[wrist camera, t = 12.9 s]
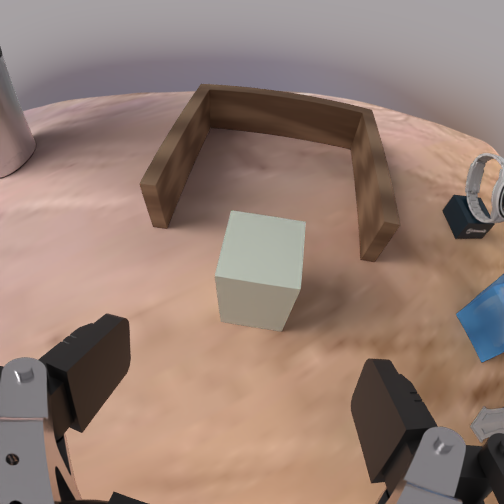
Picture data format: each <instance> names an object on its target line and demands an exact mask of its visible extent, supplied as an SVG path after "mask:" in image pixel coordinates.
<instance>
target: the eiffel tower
mask: <svg viewBox="0 0 504 504" xmlns="http://www.w3.org/2000/svg"><path fill="white" fill-rule="evenodd" d="M470 427H471V429H472V430H473V432H474V434H475V435H476V437H477V438H478V440H479V441H480V442H482V441H483V440H484V439H485V438H488V437H490V436H491V435H493V434H496V433H504V408H499V409H486V407H485V406H484V407H483V408H482V409H481V411H480V412H479V414H478V415H477V417H476V418H475V419H474V421H473V422H472V424H471V425H470Z"/></svg>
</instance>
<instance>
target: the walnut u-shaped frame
mask: <svg viewBox="0 0 504 504" xmlns="http://www.w3.org/2000/svg"><path fill="white" fill-rule="evenodd" d="M211 127H212V128H223V129H232V130H241V131H249V132H257V133H265V134H272V135H278V136H285V137H291V138H297V139H303V140H308V141H314V142H319V143H324V144H329V145H334V146H339V147H344V148H348V149H351V156H352V163H353V172H354V180H355V190H356V200H357V211H358V224H359V239H360V258H361V260H366V261H371V262H375V261H376V259H377V258H378V256H379V255H380V253H381V252H382V251H383V249H384V248H385V246H386V245H387V243H388V242H389V241H390V239H391V238H392V236H393V235H394V233H395V232H396V230H397V229H398V227H399V226H400V222H399V216H398V211H397V206H396V201H395V196H394V191H393V186H392V182H391V177H390V173H389V169H388V165H387V161H386V157H385V153H384V149H383V146H382V142H381V138H380V135H379V131H378V128H377V125H376V121H375V118H374V115H373V112H372V110H370V109H366V108H362V107H358V106H354V105H350V104H346V103H341V102H337V101H332V100H327V99H322V98H317V97H312V96H306V95H300V94H294V93H288V92H281V91H274V90H266V89H258V88H249V87H238V86H226V85H210V84H201V85H200V86H199V88H198V89H197V91H196V92H195V93H194V95H193V96H192V98H191V99H190V101H189V102H188V104H187V105H186V107H185V108H184V110H183V111H182V113H181V114H180V116H179V117H178V119H177V121H176V122H175V124H174V125H173V127H172V129H171V130H170V132H169V133H168V135H167V137H166V138H165V140H164V142H163V143H162V145H161V147H160V148H159V150H158V152H157V153H156V155H155V157H154V159H153V160H152V162H151V164H150V166H149V167H148V169H147V171H146V173H145V175H144V176H143V178H142V180H141V182H140V187H141V190H142V194H143V197H144V200H145V203H146V206H147V209H148V213H149V216H150V219H151V222H152V225H153V227H159V228H165V229H167V228H168V225H169V222H170V220H171V217H172V215H173V212H174V210H175V207H176V205H177V202H178V200H179V198H180V195H181V193H182V190H183V188H184V186H185V183H186V181H187V179H188V176H189V174H190V172H191V169H192V167H193V165H194V162H195V160H196V158H197V156H198V154H199V151H200V149H201V147H202V145H203V143H204V140H205V138H206V136H207V134H208V132H209V130H210V128H211Z"/></svg>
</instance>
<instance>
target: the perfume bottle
mask: <svg viewBox="0 0 504 504" xmlns="http://www.w3.org/2000/svg"><path fill="white" fill-rule="evenodd" d="M456 315H457V317H458V319H459V321H460V322H461V324H462V326H463V328H464V330H465V331H466V333H467V335H468V337H469V339H470V341H471V343H472V345H473V346H474V348H475V350H476V352H477V354H478V356H479V358H480V360H481V362H484V361H486V360H488V359H491V358H493V357H495V356H497V355H499V354H501V353H503V352H504V274H503V275H502V276H501V277H499V278H498V279H497V280H496V281H495V282H493V283H492V284H491V285H490V286H488V287H487V288H486V289H485V290H483V291H482V292H481V293H480V294H479V295H478V296H477V297H476V298H474V299H473V300H472V301H471V302H470V303H469V304H468V305H466V306H465V307H464V308H463V309H462V310H460V311H459V312H458V313H457V314H456Z"/></svg>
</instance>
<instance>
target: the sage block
mask: <svg viewBox="0 0 504 504" xmlns="http://www.w3.org/2000/svg"><path fill="white" fill-rule="evenodd" d="M305 224H306V222H304V221H297V220H291V219H285V218H279V217H273V216H266V215H260V214H253V213H246V212H240V211H233V210H231V213H230V217H229V221H228V225H227V229H226V233H225V237H224V241H223V245H222V249H221V253H220V257H219V261H218V265H217V269H216V273H215V282H216V290H217V298H218V305H219V313H220V320H221V322H225V323H231V324H237V325H243V326H249V327H255V328H261V329H268V330H275V331H282V330H283V327H284V325H285V323H286V321H287V319H288V317H289V314H290V312H291V310H292V308H293V306H294V303H295V301H296V299H297V297H298V294H299V292H300V290H301V280H302V267H303V254H304V240H305Z"/></svg>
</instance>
